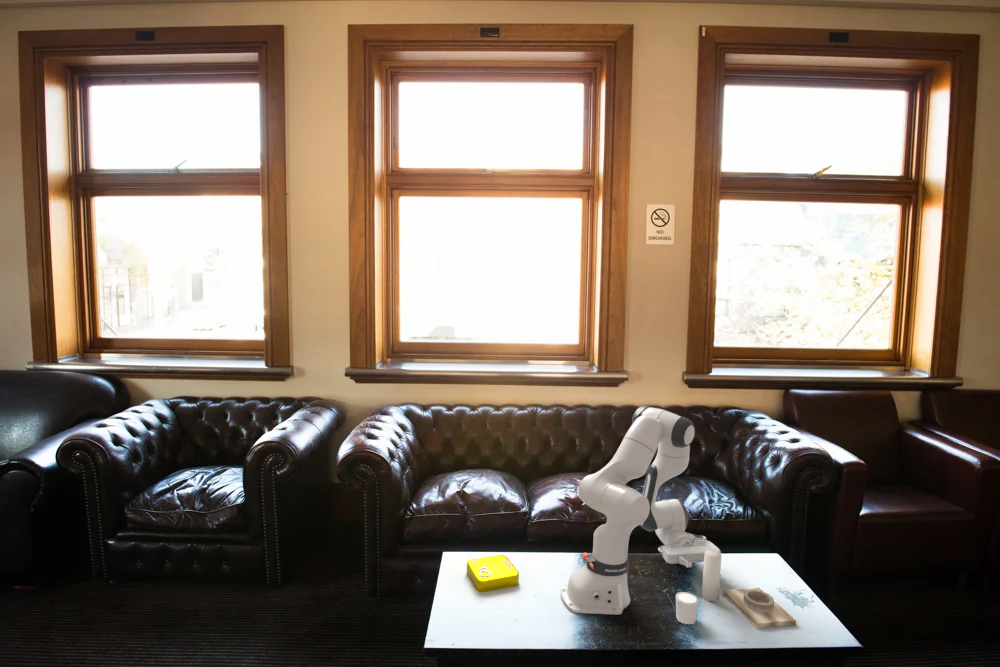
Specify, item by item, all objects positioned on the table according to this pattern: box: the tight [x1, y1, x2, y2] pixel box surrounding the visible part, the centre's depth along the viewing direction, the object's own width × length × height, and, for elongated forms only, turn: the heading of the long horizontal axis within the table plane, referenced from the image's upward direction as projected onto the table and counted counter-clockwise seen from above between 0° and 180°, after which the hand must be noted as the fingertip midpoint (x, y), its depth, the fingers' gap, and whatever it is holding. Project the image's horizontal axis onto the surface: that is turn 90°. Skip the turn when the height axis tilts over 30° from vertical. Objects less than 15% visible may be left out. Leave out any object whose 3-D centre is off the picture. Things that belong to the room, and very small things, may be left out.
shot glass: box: [675, 591, 700, 626], centre depth 169 cm, size 7×7×7 cm
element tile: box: [466, 554, 520, 593], centre depth 190 cm, size 15×15×5 cm
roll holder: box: [723, 587, 797, 629], centre depth 176 cm, size 13×18×4 cm
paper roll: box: [701, 550, 722, 603], centre depth 181 cm, size 5×5×15 cm
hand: (702, 564), depth 186 cm, fingers open, 8 cm apart
